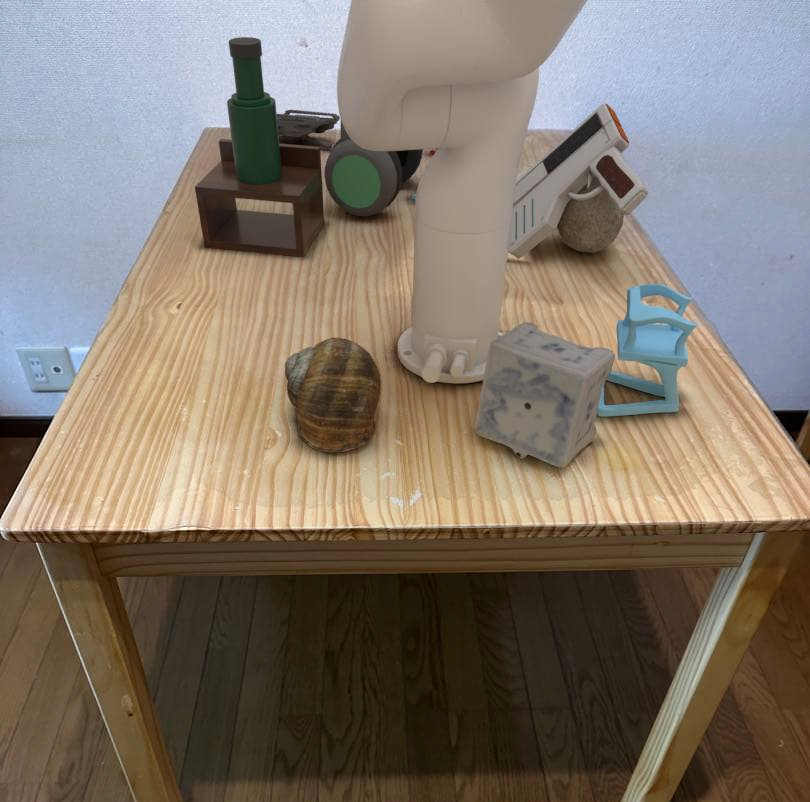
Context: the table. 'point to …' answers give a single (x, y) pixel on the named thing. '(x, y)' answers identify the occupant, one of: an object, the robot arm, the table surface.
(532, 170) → the futuristic handgun
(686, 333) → the chair
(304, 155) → the box
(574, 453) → the incense holder
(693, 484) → the table surface
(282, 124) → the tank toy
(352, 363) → the seashell
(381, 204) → the headphones
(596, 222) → the decorative stone
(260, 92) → the bottle
